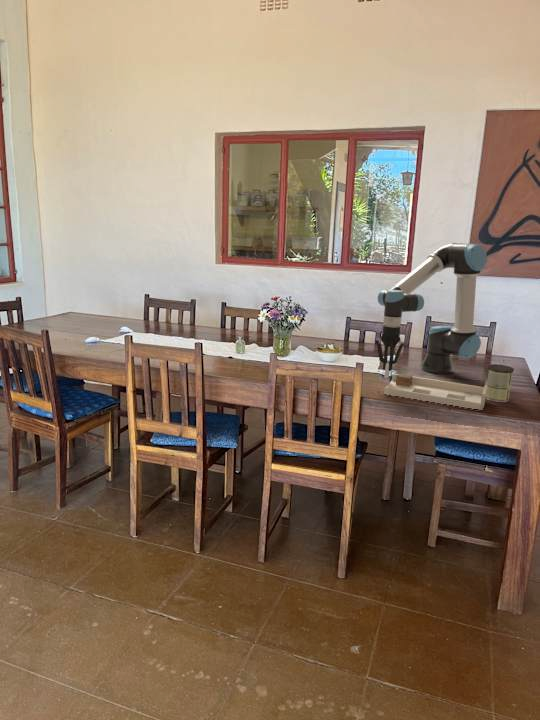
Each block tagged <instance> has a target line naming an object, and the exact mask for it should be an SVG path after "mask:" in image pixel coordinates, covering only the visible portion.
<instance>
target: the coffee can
mask: <svg viewBox="0 0 540 720" xmlns="http://www.w3.org/2000/svg"><path fill="white" fill-rule="evenodd" d="M514 370H515V369H514V368H513V367H511V366H508V365H504V364H488V365H487V371H486V372H487V373H486V379H485V385H488V386H487V393H486V399H485V400H487V401H491V402H496V403H507V401H508V402H509V401H510V394H511V388H512V382H513V376H514V374H513V373H514Z"/></svg>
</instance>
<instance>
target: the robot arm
mask: <svg viewBox="0 0 540 720" xmlns="http://www.w3.org/2000/svg"><path fill="white" fill-rule="evenodd" d="M487 256H488V255H487V251H486V249H484V247H483V246H482V245H480V244H475V243H462V242H459V243H457V242H451V243H448V244H445V245H443V246H440V247H439V248H437V249H436V250H434V251H432V253H430V254H429V255H428V256H427V257H426V260H424V262H422V263H421V264H420V265H418V267H416V268H415V269H413V270H412V271H410V273H409V274H407V275H406V276H405V277H403V278H402V279H401V280H400V281H399V282H397V283H396V284H395V285H394V286H393V287H391V288H389V289H383V290H382V289H381V291H380V292H379V293H378V296H377V302H378V304H379V305H380V306H382V307H384V311H383V312H384V314H383V319H382V320H383V321H382V322H383V323H382V324H383V326H382V334H381V336H380V338H377V339H376V340H375V341H374V342H375V344H376V346H377V347H376V348H377V351H378V359H379V360H378V361H379V362H380V363H382V364H383V365H382V371H384V377H383V378H384V379H389V377H390V373H391V371H393V365H394V364H396V363H397V362H398V360H399V358H400V356H401V352H402V349H403V347H404V346H406V342H404V341H402V340H401V337H400V334H401V324H402V316H403V313H405V312H419V311H421V310H422V309H424V306H425V298H424V297H423V296H422V295H421V294H418V293H413V292H414V291H416V290H417V289H418V288H419V287H420V286H421V285H422V284H424V283H425V282H426V281H428V280H429V279H430V278H431V277H433V276H434V275H435V274H436V273H440V272H442V271H443V270H445V269H450V268H451V269H453V274H454V275H455V277H456V286H455V291H456V292H455V307H454V320H453V321H454V322H453V326H452V325H437V326H436V325H435V326H432V327H430V329H429V333H428V337H427V338H428V340H427V350H426V355H425V358H424V359H423V361H422V364H421V370H422V371H425V372H428V373H431V374H439V375H441V374H442V375H446V374H447V375H449V374H451V373H452V372H453V364H452V363H453V362H452V359H451V355H454V356H457V357H460V358H465V359H471V358H473V357H474V356H476V354H477V353H478V352H479V350H480V348H481V345H482V344H481V343H482V342H481V341H482V340H481V337H480V336H479V335H477V329H476V328H475V327H474V317H475V304H476V303H475V302H476V288H477V277H478V276H479V275H480V274H481V271H482V270H483V269H484V268H485V267H486V264H487V261H488V259H487V258H488V257H487ZM412 293H413V294H412ZM382 343H383V346H384V351H383V347H382ZM397 345H398V349H397V351H396V353H395V348H396V346H397ZM389 350H390V351H389ZM394 355H395V356H394ZM388 356H389V357H388ZM388 359H389V361H388Z"/></svg>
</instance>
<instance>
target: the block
mask: <svg viewBox="0 0 540 720" xmlns="http://www.w3.org/2000/svg"><path fill="white" fill-rule="evenodd" d="M397 374H398V375H397V376H396V385H401V386H407V387H410V385H411V383H412V376H413V374H412V375H411V374H407V373H404V374H400V373H399V372H398V373H397ZM406 374H407V375H406Z"/></svg>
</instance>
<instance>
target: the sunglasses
mask: <svg viewBox="0 0 540 720" xmlns="http://www.w3.org/2000/svg"><path fill="white" fill-rule="evenodd" d="M394 372H395V373H398V374H399V373H400V374H406V375H408V374H407V373H404V372H401V371H399V370H395V369H394V370H393V369H392V371H390V375H389V378H388V379H389V382H390V381H392V374H393V373H394Z"/></svg>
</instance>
